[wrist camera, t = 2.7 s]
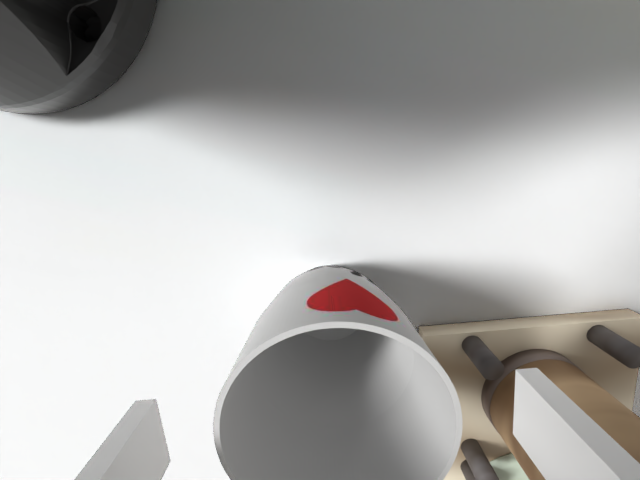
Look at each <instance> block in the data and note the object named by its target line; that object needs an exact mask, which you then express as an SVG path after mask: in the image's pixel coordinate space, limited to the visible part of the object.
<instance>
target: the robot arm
mask: <svg viewBox="0 0 640 480" xmlns="http://www.w3.org/2000/svg"><path fill="white" fill-rule="evenodd" d="M156 3H157V0H0V110H1V111H8V112H15V113H25V114H39V113H50V112H57V111H61V110H65V109H69V108H72V107H75V106H78V105H80V104H82V103H85V102H87V101H89V100H91V99H92V98H94V97H96V96H97V95H99V94H101V93H102V92H104V91H105V90H106V89H107V88H109V87H110V86H111V85H112V84H113V83H114V82H116V81H117V80H118V79H119V78H120V77H121V76H122V74H123V73H124V72H125V71H126V70H127V69H128V67H129V66H130V65H131V63H132V62H133V60H134V59H135V57H136V56H137V54H138V53H139V51H140V49H141V47H142V45H143V43H144V41H145V39H146V36H147V34H148V32H149V29H150V26H151V23H152V20H153V16H154V12H155V9H156ZM513 435H514V436H515V438H516V439H517V440H518V442H519V443H520V445H521V446H522V447H523V449H524V450H525V452H526V453H527V454H528V456H529V457H530V459H531V460H532V461H533V463H534V464H535V466H536V467H537V468H538V470H539V471H540V472H541V474H542V475H543V477H544V478H545V479H546V480H640V464H639V463H638V462H637V461H636V460H635V459H634V458H633V457H632V456H631V455H630V454H629V453H628V452H627V451H626V450H625V449H623V448H622V447H621V446H620V445H619V444H618V443H617V442H616V441H615V440H614V439H613V438H612V437H611V436H610V435H608V434H607V433H606V432H605V431H604V430H603V429H602V428H601V427H600V426H599V425H598V424H597V423H596V422H595V421H593V420H592V419H591V418H590V417H589V416H588V415H587V414H586V413H585V412H584V411H583V410H582V409H581V408H580V407H578V406H577V405H576V404H575V403H574V402H573V401H572V400H571V399H570V398H569V397H568V396H567V395H566V394H565V393H564V392H562V391H561V390H560V389H559V388H558V387H557V386H556V385H555V384H554V383H553V382H552V381H551V380H550V379H549V378H547V377H546V376H545V375H544V374H543V373H542V372H541V371H540V370H539V369H538V368H527V369H516V371H515V394H514V417H513ZM169 463H170V457H169V452H168V448H167V444H166V439H165V435H164V431H163V427H162V422H161V418H160V414H159V409H158V405H157V401H156V399H152V400H140V401H135V402H134V404H133V405H132V406H131V407H130V409H129V410H128V411H127V413H126V414H125V415H124V416H123V418H122V419H121V420H120V422H119V423H118V424H117V425H116V427H115V428H114V429H113V431H112V432H111V433H110V434H109V436H108V437H107V438H106V440H105V441H104V442H103V443H102V445H101V446H100V447H99V449H98V450H97V451H96V453H95V454H94V455H93V456H92V458H91V459H90V460H89V462H88V463H87V464H86V465H85V467H84V468H83V469H82V471H81V472H80V473H79V474H78V476H77V477H76V478H75V480H161V479H162V477H163V475H164V473H165V471H166V469H167V467H168V465H169Z"/></svg>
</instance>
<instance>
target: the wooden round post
mask: <svg viewBox="0 0 640 480" xmlns="http://www.w3.org/2000/svg"><path fill="white" fill-rule="evenodd" d="M501 363H502V364H503V365H504V373H503V375H502V376H501V377H500V378H498V379H496V380H487V379H486V380H485V382H484V385H483V388H482V394H481V402H482V407H483V410H484V412H485V414H486V416H487V417H488V419H489V420H490V422H491V423H492V425H493V426H494V428H495V429H496V431H497V432H498V433H499V434H500V436H501V437H502V439H503V440H504V442H505V443H506V445H507V446H508V448H509V449H510V451H511V452H512V454H513V455H514V457H515V458H516V460H517V461H518V463H519V464H520V466H521V468H522V469H523V471H524V472H525V474H526V475H527V477H528V478H529V480H546V479H545V478H544V477H543V475H542V474H541V472H540V471H539V470H538V468H537V467H536V466H535V464H534V463H533V461H532V460H531V459H530V457H529V456H528V454H527V453H526V452H525V450H524V449H523V447H522V446H521V445H520V443H519V442H518V440H517V439H516V438H515V436H514V435H513V417H514V394H515V371H516V369H527V368H538V369H539V370H540V371H541V372H542V373H543V374H544V375H545V376H546V377H547V378H549V379H550V380H551V381H552V382H553V383H554V384H555V385H556V386H557V387H558V388H559V389H560V390H561V391H562V392H564V393H565V394H566V395H567V396H568V397H569V398H570V399H571V400H572V401H573V402H574V403H575V404H576V405H577V406H578V407H580V408H581V409H582V410H583V411H584V412H585V413H586V414H587V415H588V416H589V417H590V418H591V419H592V420H593V421H595V422H596V423H597V424H598V425H599V426H600V427H601V428H602V429H603V430H604V431H605V432H606V433H607V434H608V435H610V436H611V437H612V438H613V439H614V440H615V441H616V442H617V443H618V444H619V445H620V446H621V447H622V448H623V449H625V450H626V451H627V452H628V453H629V454H630V455H631V456H632V457H633V458H634V459H635V460H636V461H637V462H638V463H639V464H640V418H639V417H638V416H637V415H636V414H634V413H633V412H632V411H631V410H630V409H628V408H627V407H626V406H625V405H623V404H622V403H621V402H620V401H618V400H617V399H616V398H615V397H613V396H612V395H611V394H610V393H608V392H607V391H606V390H605V389H603V388H602V387H601V386H600V385H599V384H597V383H596V382H595V381H594V380H592V379H591V378H590V377H589V376H587V375H586V374H585V373H584V372H583V371H582V370H581V369H580V368H579V367H578V366H576V365H575V364H574V363H573V362H571V361H570V360H569V359H568V358H566V357H565V356H563V355H562V354H560V353H557V352H555V351H552V350H547V349H530V350H524V351H520V352H518V353H515V354H513V355H511V356H509V357H507V358H505V359H504V360H502V361H501Z"/></svg>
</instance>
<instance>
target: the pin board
mask: <svg viewBox="0 0 640 480" xmlns="http://www.w3.org/2000/svg"><path fill="white" fill-rule="evenodd" d="M419 335H420V336H421V338H422V339H423V341H424V342H425V343H426V345H427V346H428V348H429V349H430V351H431V352H432V353H433V355H434V356H435V358H436V359H437V360H438V362H439V363H440V365H441V366H442V368H443V369H444V370H445V372H446V373H447V375H448V376H449V378H450V380H451V382H452V383H453V385H454V388H455V390H456V392H457V395H458V398H459V402H460V406H461V411H462V437H461V442H460V447H459V450H458V453H457V456H456V458H455V461H454V463H453V465H452V467H451V469H450V470H449V472H448V473H447V475H446V476H445V478H444V479H443V480H529V478H528V477H527V475H526V474H525V472H524V471H523V469H522V468H521V466H520V464H519V463H518V461H517V460H516V458H515V457H514V455H513V454H512V452H511V451H510V449H509V448H508V446H507V445H506V443H505V442H504V440H503V439H502V437H501V436H500V434H499V433H498V432H497V431H496V429H495V428H494V426H493V425H492V423H491V422H490V420H489V419H488V417H487V416H486V414H485V412H484V410H483V407H482V402H481V394H482V388H483V385H484V382H485V380H486V379H487V380H496V379H498V378H500V377H501V376H502V375H503V373H504V365H503V364H502V363H501V361H502V360H504V359H505V358H507V357H509V356H511V355H513V354H515V353H518V352H520V351H524V350H530V349H547V350H552V351H555V352H557V353H560V354H562V355H563V356H565V357H566V358H568V359H569V360H570V361H571V362H573V363H574V364H575V365H576V366H578V367H579V368H580V369H581V370H582V371H583V372H584V373H585V374H586V375H587V376H589V377H590V378H591V379H592V380H594V381H595V382H596V383H597V384H599V385H600V386H601V387H602V388H603V389H605V390H606V391H607V392H608V393H610V394H611V395H612V396H613V397H615V398H616V399H617V400H618V401H620V402H621V403H622V404H623V405H625V406H626V407H627V408H628V409H630V410H631V411H632V408H633V402H634V395H635V389H636V382H637V376H638V369H639V367H640V314H638V313H636V312H634V311H632V310H630V309H618V310H606V311H595V312H583V313H571V314H560V315H548V316H536V317H525V318H513V319H501V320H490V321H478V322H466V323H455V324H443V325H431V326H419Z"/></svg>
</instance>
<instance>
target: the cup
mask: <svg viewBox="0 0 640 480" xmlns="http://www.w3.org/2000/svg"><path fill="white" fill-rule="evenodd" d="M213 432H214V441H215V446H216V450H217V454H218V456H219V459H220V462H221V464H222V466H223V468H224V470H225V472H226V473H227V475H228V476H229V478H230V479H231V480H443V479H444V478H445V476H446V475H447V473H448V472H449V470H450V469H451V467H452V465H453V463H454V461H455V458H456V456H457V453H458V450H459V447H460V442H461V437H462V411H461V406H460V402H459V398H458V395H457V392H456V390H455V388H454V385H453V383H452V382H451V380H450V378H449V376H448V375H447V373H446V372H445V370H444V369H443V368H442V366H441V365H440V363H439V362H438V360H437V359H436V358H435V356H434V355H433V353H432V352H431V351H430V349H429V348H428V346H427V345H426V343H425V342H424V341H423V339H422V338H421V336H420V335H419V333H418V332H417V331H416V329H415V328H414V326H413V325H412V323H411V322H410V321H409V319H408V318H407V316H406V315H405V314H404V312H403V311H402V310H401V309H400V308H399V306H398V305H397V304H395V303H394V302H393V301H392V300H391V299H390V298H389V297H388V296H387V295H386V294H385V293H384V292H383V291H382V290H381V289H379V288H378V287H377V286H376V285H375V284H374V283H373V282H372V281H371V280H369V279H368V278H367V277H365V276H364V275H362V274H360V273H358V272H355V271H353V270H350V269H346V268H343V267H339V266H331V265H328V266H320V267H316V268H313V269H311V270H309V271H306V272H304V273H302V274H300V275H298V276H297V277H295V278H294V279H292V280H291V281H290V282H289V283H288V284H287V285H286V286H285V287H284V288H283V289H282V290H281V291H280V293H279V294H278V295H277V296H276V297H275V299H274V300H273V301H272V302H271V304H270V305H269V306H268V307H267V308H266V310H265V311H264V312H263V313H262V315H261V316H260V318H259V319H258V321H257V322H256V324H255V326H254V328H253V330H252V332H251V334H250V336H249V338H248V340H247V341H246V343H245V345H244V347H243V349H242V351H241V353H240V355H239V357H238V359H237V361H236V363H235V365H234V366H233V368H232V370H231V372H230V374H229V376H228V378H227V380H226V382H225V384H224V386H223V388H222V390H221V392H220V395H219V397H218V400H217V404H216V408H215V413H214V422H213Z"/></svg>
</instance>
